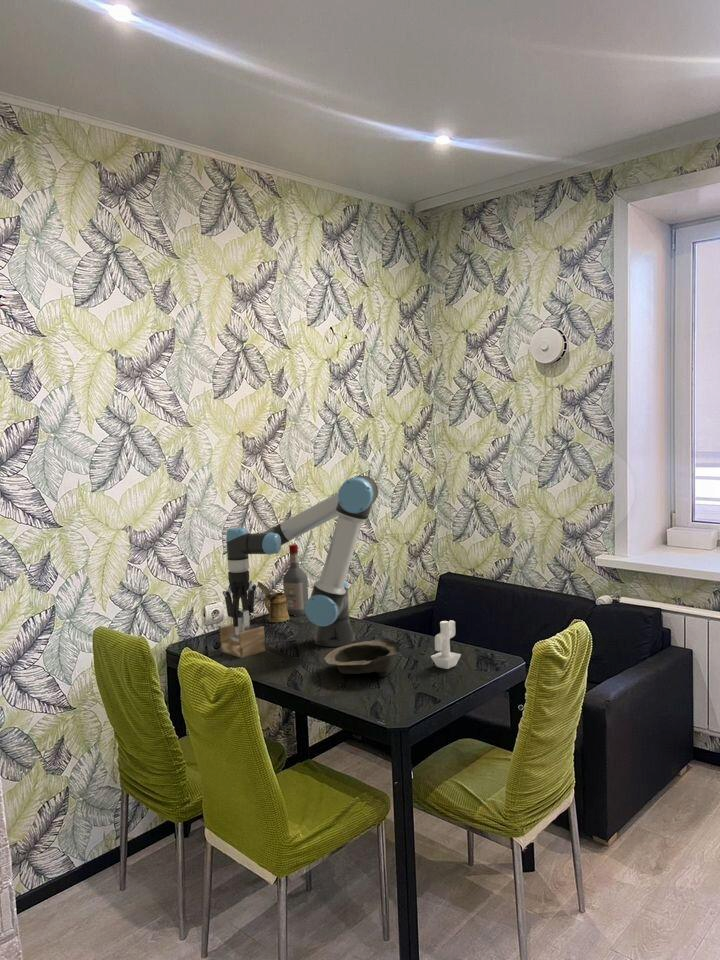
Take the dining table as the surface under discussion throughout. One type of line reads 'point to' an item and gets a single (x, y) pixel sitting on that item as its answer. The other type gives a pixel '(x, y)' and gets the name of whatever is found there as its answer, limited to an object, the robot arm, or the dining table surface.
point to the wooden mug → (275, 605)
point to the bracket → (244, 624)
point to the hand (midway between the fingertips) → (241, 633)
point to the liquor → (295, 585)
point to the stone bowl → (365, 657)
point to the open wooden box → (242, 642)
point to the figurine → (445, 646)
